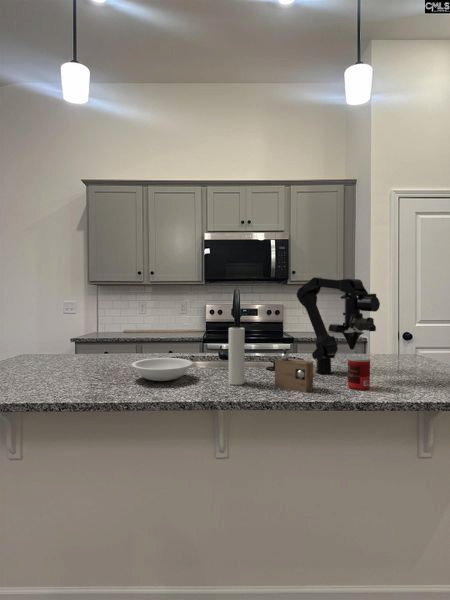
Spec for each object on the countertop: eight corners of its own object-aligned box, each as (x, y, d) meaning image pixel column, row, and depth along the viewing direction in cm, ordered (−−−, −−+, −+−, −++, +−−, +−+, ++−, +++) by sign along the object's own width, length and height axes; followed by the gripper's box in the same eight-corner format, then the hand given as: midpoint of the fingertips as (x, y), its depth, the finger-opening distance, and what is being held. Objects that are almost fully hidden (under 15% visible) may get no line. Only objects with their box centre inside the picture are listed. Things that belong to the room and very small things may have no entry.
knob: (301, 377, 144) (301, 362, 143) (316, 379, 140) (316, 364, 140) (292, 381, 138) (292, 365, 138) (307, 383, 134) (307, 367, 134)
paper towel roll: (239, 386, 143) (239, 328, 142) (225, 384, 146) (225, 327, 146) (248, 382, 149) (248, 327, 149) (235, 380, 152) (235, 326, 152)
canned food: (369, 386, 144) (369, 356, 144) (370, 391, 137) (370, 360, 136) (347, 384, 147) (348, 355, 146) (347, 389, 139) (347, 359, 139)
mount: (283, 383, 148) (283, 357, 147) (314, 388, 140) (314, 361, 140) (274, 387, 142) (275, 360, 142) (305, 392, 135) (306, 364, 134)
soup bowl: (205, 379, 154) (205, 362, 154) (156, 390, 137) (156, 372, 136) (167, 370, 171) (167, 355, 170) (119, 379, 153) (119, 363, 153)
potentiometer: (280, 359, 142) (280, 348, 142) (286, 359, 143) (286, 348, 143) (283, 360, 140) (283, 349, 140) (289, 360, 141) (289, 349, 141)
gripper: (345, 311, 143) (344, 353, 144) (386, 311, 149) (385, 351, 150) (327, 310, 154) (327, 349, 154) (366, 309, 160) (366, 347, 160)
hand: (352, 349), depth 155 cm, fingers closed
